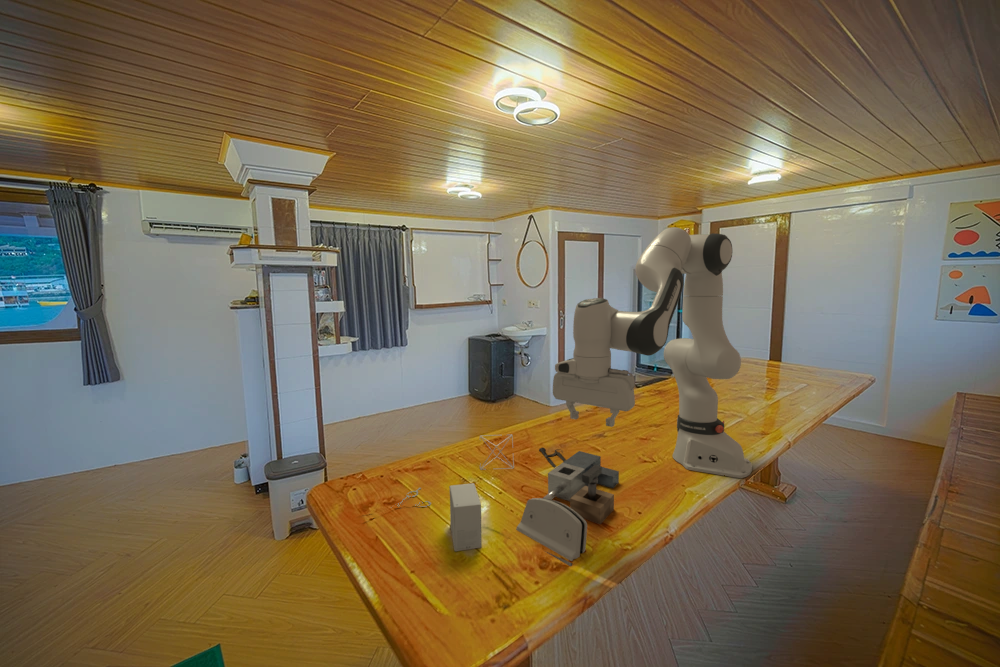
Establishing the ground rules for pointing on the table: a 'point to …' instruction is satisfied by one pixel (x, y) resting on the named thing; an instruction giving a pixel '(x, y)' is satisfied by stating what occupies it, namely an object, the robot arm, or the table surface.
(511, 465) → the geometric polyhedron
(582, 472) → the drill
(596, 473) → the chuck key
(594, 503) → the brown square ring block
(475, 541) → the skincare box
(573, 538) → the grey curved-top slotted block
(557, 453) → the forked twig branch
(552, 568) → the table surface
